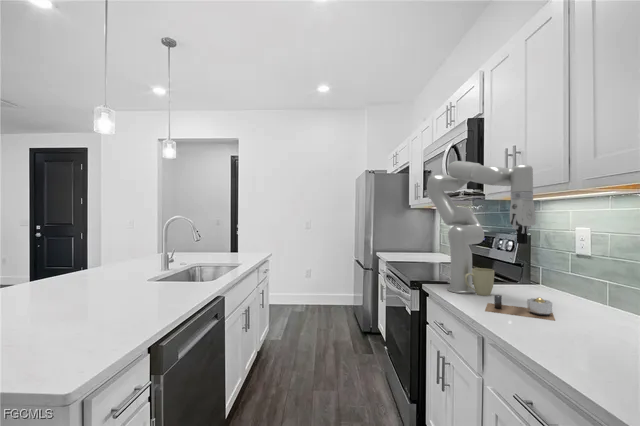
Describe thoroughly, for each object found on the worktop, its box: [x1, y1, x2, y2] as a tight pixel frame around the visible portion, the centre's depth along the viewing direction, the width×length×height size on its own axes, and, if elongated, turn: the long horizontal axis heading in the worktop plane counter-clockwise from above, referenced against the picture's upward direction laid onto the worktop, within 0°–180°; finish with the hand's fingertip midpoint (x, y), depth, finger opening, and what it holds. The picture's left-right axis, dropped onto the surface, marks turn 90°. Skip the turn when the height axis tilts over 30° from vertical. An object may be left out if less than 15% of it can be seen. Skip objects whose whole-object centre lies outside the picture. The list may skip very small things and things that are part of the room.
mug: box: [465, 267, 495, 297], centre depth 144 cm, size 11×10×12 cm
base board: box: [484, 302, 556, 322], centre depth 119 cm, size 21×13×1 cm, turn 58°
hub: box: [530, 297, 549, 316], centre depth 115 cm, size 6×6×6 cm
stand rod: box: [493, 294, 503, 309], centre depth 122 cm, size 2×2×5 cm
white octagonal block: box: [526, 297, 553, 314], centre depth 115 cm, size 7×7×4 cm
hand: (522, 243), depth 128 cm, fingers closed
